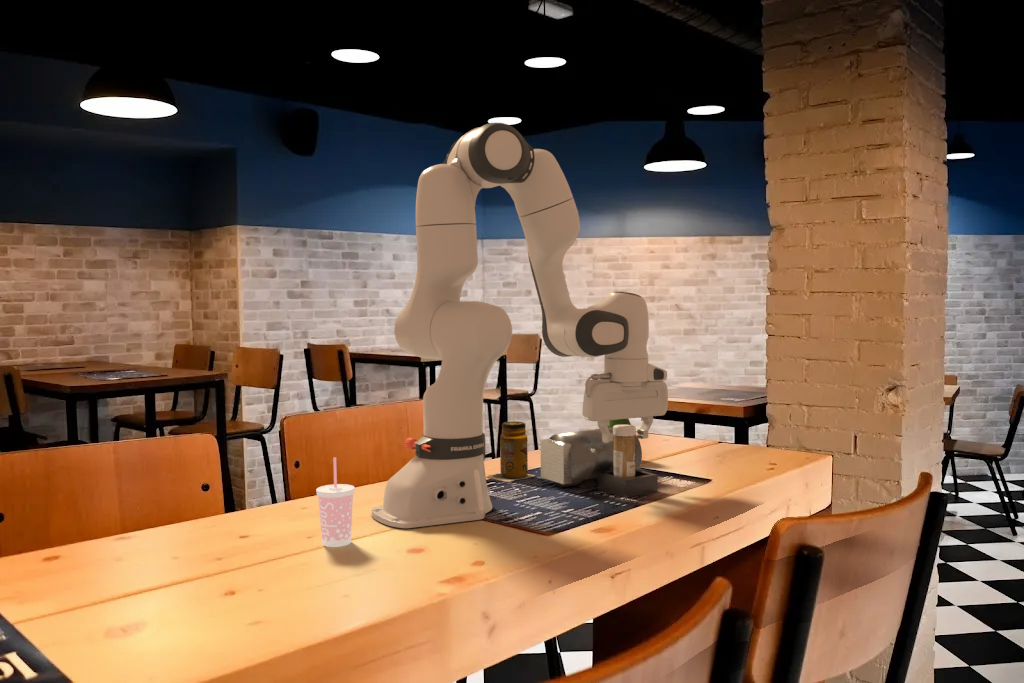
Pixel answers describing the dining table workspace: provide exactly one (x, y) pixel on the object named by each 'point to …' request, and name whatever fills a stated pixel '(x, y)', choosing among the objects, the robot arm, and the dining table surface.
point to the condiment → (513, 453)
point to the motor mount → (591, 464)
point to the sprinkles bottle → (624, 450)
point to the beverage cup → (335, 512)
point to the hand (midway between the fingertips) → (625, 440)
